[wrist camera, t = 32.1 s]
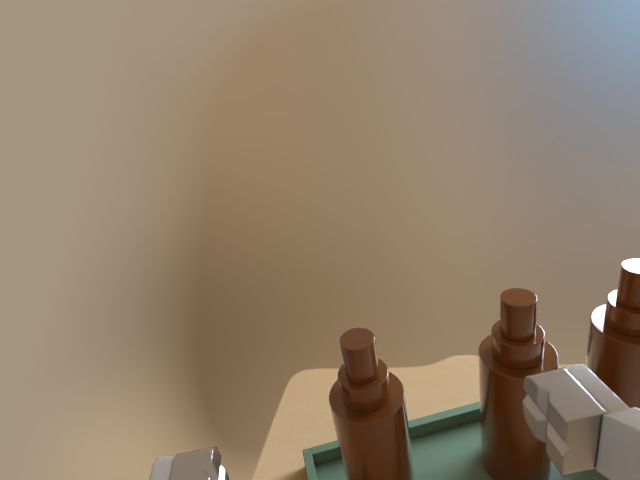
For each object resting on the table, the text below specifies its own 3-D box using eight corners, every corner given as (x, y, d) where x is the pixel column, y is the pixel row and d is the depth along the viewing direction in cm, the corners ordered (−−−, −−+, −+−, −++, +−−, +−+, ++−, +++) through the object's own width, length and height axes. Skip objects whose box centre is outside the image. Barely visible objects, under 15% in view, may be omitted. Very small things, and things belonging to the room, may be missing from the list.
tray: (329, 602, 32) (325, 585, 31) (306, 465, 42) (302, 449, 41) (722, 482, 35) (728, 464, 34) (608, 381, 45) (611, 365, 44)
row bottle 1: (502, 499, 36) (503, 328, 29) (469, 444, 41) (463, 287, 34) (565, 481, 36) (581, 308, 29) (525, 429, 41) (531, 270, 34)
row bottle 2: (610, 468, 36) (637, 293, 29) (565, 417, 41) (579, 258, 34) (670, 450, 37) (711, 274, 30) (619, 402, 42) (643, 242, 35)
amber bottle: (360, 542, 35) (325, 375, 27) (345, 480, 40) (311, 325, 32) (427, 522, 35) (409, 353, 28) (404, 463, 40) (383, 307, 33)
